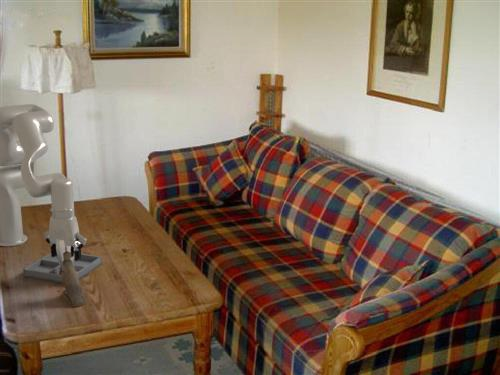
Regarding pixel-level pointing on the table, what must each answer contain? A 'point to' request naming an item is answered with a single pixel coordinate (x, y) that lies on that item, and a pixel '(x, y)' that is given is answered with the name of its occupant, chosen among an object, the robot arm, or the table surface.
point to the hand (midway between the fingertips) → (66, 257)
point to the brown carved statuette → (71, 283)
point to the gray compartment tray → (50, 268)
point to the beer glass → (61, 249)
